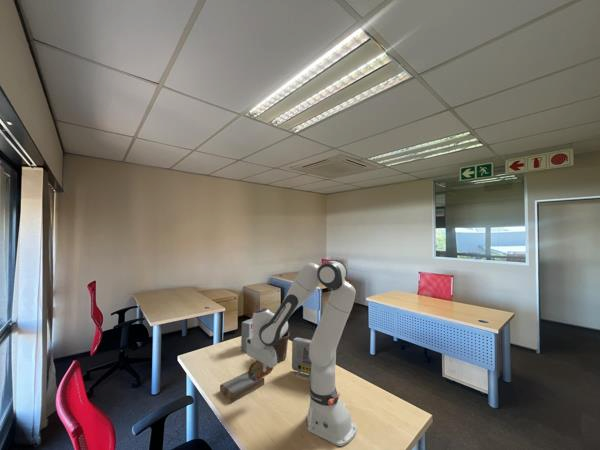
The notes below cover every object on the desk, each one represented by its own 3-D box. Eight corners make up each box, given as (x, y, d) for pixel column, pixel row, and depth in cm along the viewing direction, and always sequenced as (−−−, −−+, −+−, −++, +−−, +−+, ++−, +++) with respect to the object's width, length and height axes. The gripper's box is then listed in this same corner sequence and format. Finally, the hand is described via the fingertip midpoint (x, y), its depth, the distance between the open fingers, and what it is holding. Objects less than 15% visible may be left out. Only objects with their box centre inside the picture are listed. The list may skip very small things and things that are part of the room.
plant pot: (273, 350, 178) (273, 327, 178) (293, 355, 170) (293, 331, 171) (260, 360, 163) (260, 335, 163) (281, 366, 156) (281, 340, 156)
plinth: (264, 384, 137) (264, 377, 137) (232, 402, 122) (232, 394, 122) (251, 376, 145) (251, 369, 145) (220, 391, 130) (220, 384, 130)
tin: (250, 384, 117) (251, 366, 117) (246, 381, 119) (247, 363, 119) (274, 371, 128) (275, 355, 128) (270, 368, 130) (271, 352, 130)
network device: (335, 378, 144) (335, 343, 144) (331, 386, 136) (331, 349, 136) (296, 367, 154) (296, 335, 155) (289, 375, 146) (290, 340, 147)
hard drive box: (248, 353, 172) (248, 324, 173) (240, 350, 176) (241, 322, 177) (263, 345, 185) (263, 318, 186) (255, 342, 189) (256, 316, 190)
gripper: (279, 345, 120) (280, 374, 119) (254, 334, 133) (254, 360, 133) (269, 350, 115) (270, 380, 114) (244, 338, 129) (244, 365, 128)
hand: (261, 369), depth 124 cm, fingers closed on tin, 2 cm apart
